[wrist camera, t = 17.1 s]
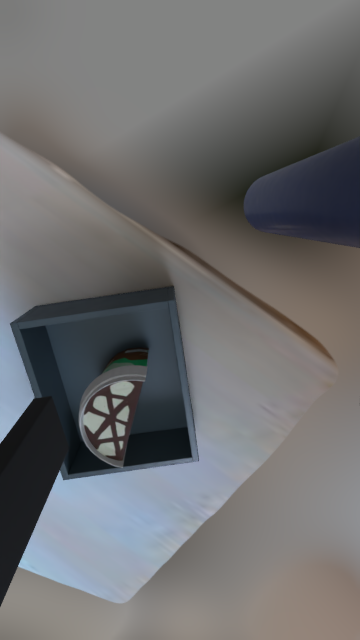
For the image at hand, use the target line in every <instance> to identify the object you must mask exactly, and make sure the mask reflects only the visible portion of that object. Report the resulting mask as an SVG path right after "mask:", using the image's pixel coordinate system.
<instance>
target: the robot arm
mask: <svg viewBox="0 0 360 640" xmlns="http://www.w3.org/2000/svg"><path fill="white" fill-rule="evenodd" d="M68 450H69V446H68V443H67V440H66V437H65V434H64V431H63V428H62V425H61V422H60V419H59V416H58V413H57V410H56V407H55V404H54V401H53V398H52V396H47V397H41V398H34V399H33V401H32V402H31V403H30V405H29V406H28V407H27V409H26V410H25V411H24V413H23V414H22V415H21V417H20V418H19V419H18V421H17V422H16V423H15V425H14V426H13V427H12V429H11V430H10V431H9V433H8V434H7V436H6V437H5V438H4V440H3V441H2V442H1V444H0V606H1V604H2V602H3V599H4V597H5V595H6V592H7V590H8V588H9V585H10V583H11V581H12V578H13V576H14V574H15V572H16V569H17V567H18V565H19V563H20V560H21V558H22V556H23V553H24V551H25V549H26V546H27V544H28V542H29V540H30V537H31V535H32V533H33V530H34V528H35V526H36V523H37V521H38V519H39V516H40V514H41V512H42V510H43V507H44V505H45V503H46V500H47V498H48V496H49V493H50V491H51V489H52V487H53V484H54V482H55V480H56V477H57V475H58V473H59V470H60V468H61V466H62V464H63V461H64V459H65V457H66V454H67V452H68Z"/></svg>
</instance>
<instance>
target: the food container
mask: <svg viewBox="0 0 360 640" xmlns="http://www.w3.org/2000/svg"><path fill="white" fill-rule="evenodd" d="M148 351H149V348H142V347H137V348H128V349H126V350H124V351H121V352H119V353H117V354H116V355H115V356H114V357H113V358H112V359H111V360H110V361H109V363H108V364H107V366H106V368H105V370H104V371H103V373H102V374H101V375H100V376H98V377H97V378H96V379H95V380H93V381H92V382H91V383H90V385H89V386H88V387H87V389H86V390H85V392H84V394H83V396H82V399H81V402H80V409H79V428H80V431H81V435H82V438H83V440H84V442H85V444H86V445H87V447H88V448H89V449H90V451H91V452H92V453H93V454H94V455H96V456H97V457H98V458H100V459H101V460H103V461H105V462H106V463H108V464H111V465H114V466H117V467H121V468H123V464H124V458H125V453H126V448H127V443H128V439H129V434H130V431H131V427H132V423H133V419H134V415H135V411H136V407H137V404H138V400H139V396H140V392H141V388H142V384H143V381H145V379H146V374H147V368H148V367H147V361H148Z"/></svg>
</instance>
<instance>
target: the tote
mask: <svg viewBox="0 0 360 640" xmlns="http://www.w3.org/2000/svg"><path fill="white" fill-rule="evenodd" d="M10 325H11V328H12V331H13V334H14V337H15V340H16V343H17V346H18V349H19V352H20V355H21V357H22V360H23V363H24V366H25V369H26V372H27V375H28V378H29V381H30V384H31V387H32V390H33V393H34V396H35V398H41V397H47V396H52V398H53V401H54V404H55V407H56V410H57V413H58V416H59V419H60V422H61V425H62V428H63V431H64V434H65V437H66V440H67V443H68V446H69V450H68V452H67V454H66V457H65V459H64V461H63V464H62V466H61V468H60V472H61V475H62V477H63V480H68V479H75V478H82V477H89V476H96V475H103V474H110V473H117V472H125V471H132V470H139V469H146V468H153V467H160V466H167V465H174V464H182V463H189V462H196V461H199V457H198V449H197V441H196V434H195V426H194V419H193V413H192V406H191V399H190V392H189V386H188V379H187V372H186V365H185V358H184V352H183V345H182V338H181V331H180V325H179V318H178V311H177V304H176V298H175V291H174V286H171V287H164V288H157V289H150V290H144V291H137V292H130V293H123V294H116V295H109V296H102V297H95V298H88V299H81V300H74V301H68V302H61V303H54V304H47V305H40V306H35V307H34V308H32V309H31V310H29V311H28V312H26V313H25V314H23V315H22V316H20V317H19V318H17V319H16V320H15V321H13V322H12V323H10ZM137 347H142V348H149V351H148V361H147V367H148V368H147V374H146V379H145V381H143V384H142V388H141V392H140V396H139V400H138V404H137V407H136V411H135V415H134V419H133V423H132V427H131V431H130V434H129V439H128V443H127V448H126V453H125V458H124V464H123V468H121V467H117V466H114V465H111V464H108V463H106V462H105V461H103V460H101V459H100V458H98V457H97V456H96V455H94V454H93V453H92V452H91V451H90V449H89V448H88V447H87V445H86V444H85V442H84V440H83V438H82V435H81V431H80V428H79V409H80V402H81V399H82V396H83V394H84V392H85V390H86V389H87V387H88V386H89V385H90V383H91V382H92V381H93V380H95V379H96V378H97V377H98V376H100V375H101V374H102V373H103V371H104V370H105V368H106V366H107V364H108V363H109V361H110V360H111V359H112V358H113V357H114V356H115V355H116V354H117V353H119V352H121V351H124V350H126V349H128V348H137Z"/></svg>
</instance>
